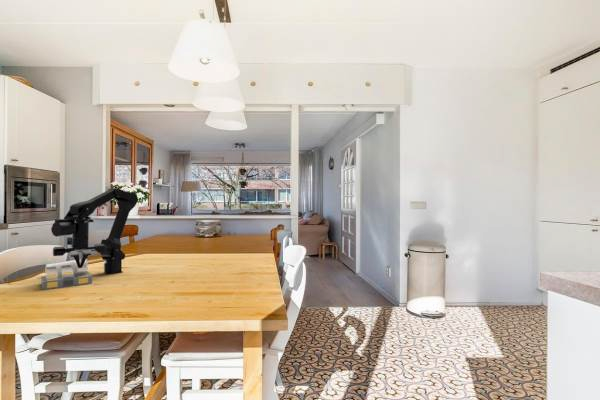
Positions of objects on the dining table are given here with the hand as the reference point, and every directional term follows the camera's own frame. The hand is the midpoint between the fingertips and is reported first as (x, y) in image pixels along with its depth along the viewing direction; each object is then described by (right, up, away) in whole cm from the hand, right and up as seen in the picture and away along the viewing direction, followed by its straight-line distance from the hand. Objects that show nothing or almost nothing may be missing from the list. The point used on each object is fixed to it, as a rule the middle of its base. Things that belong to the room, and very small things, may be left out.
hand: (79, 269), depth 143 cm
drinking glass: (-18, -1, +4) cm, 18 cm away
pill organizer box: (0, -4, -7) cm, 8 cm away
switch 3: (+3, +1, -4) cm, 5 cm away
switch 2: (0, +1, -7) cm, 7 cm away
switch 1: (-4, +1, -11) cm, 11 cm away
